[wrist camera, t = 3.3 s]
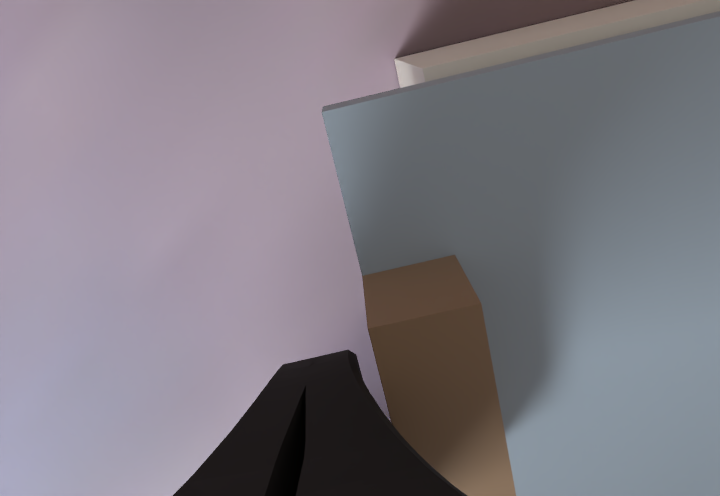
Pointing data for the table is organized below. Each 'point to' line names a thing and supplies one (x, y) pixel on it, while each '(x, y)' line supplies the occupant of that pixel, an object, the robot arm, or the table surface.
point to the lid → (548, 264)
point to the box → (546, 38)
